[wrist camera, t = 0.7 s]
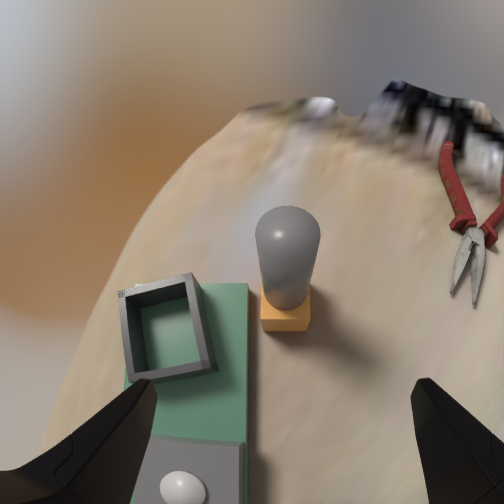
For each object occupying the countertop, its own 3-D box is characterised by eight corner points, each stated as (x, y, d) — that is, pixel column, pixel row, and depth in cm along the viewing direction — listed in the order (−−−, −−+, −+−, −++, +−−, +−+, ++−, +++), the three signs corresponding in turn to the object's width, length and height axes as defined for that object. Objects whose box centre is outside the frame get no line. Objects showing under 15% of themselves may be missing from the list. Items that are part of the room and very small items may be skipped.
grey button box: (242, 526, 16) (237, 540, 14) (148, 513, 17) (133, 523, 14) (243, 441, 20) (238, 447, 17) (146, 432, 20) (130, 435, 18)
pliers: (408, 279, 26) (419, 267, 24) (438, 148, 34) (444, 134, 31) (497, 323, 23) (511, 315, 21) (506, 185, 30) (515, 173, 28)
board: (247, 526, 17) (245, 533, 16) (132, 509, 18) (124, 513, 17) (249, 289, 27) (247, 283, 26) (141, 289, 28) (135, 284, 26)
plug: (305, 331, 25) (326, 275, 14) (263, 331, 25) (250, 275, 14) (305, 280, 27) (320, 196, 16) (264, 280, 27) (254, 196, 16)
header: (219, 371, 22) (210, 367, 20) (145, 385, 22) (128, 382, 20) (200, 286, 26) (191, 272, 23) (133, 303, 25) (117, 291, 23)
